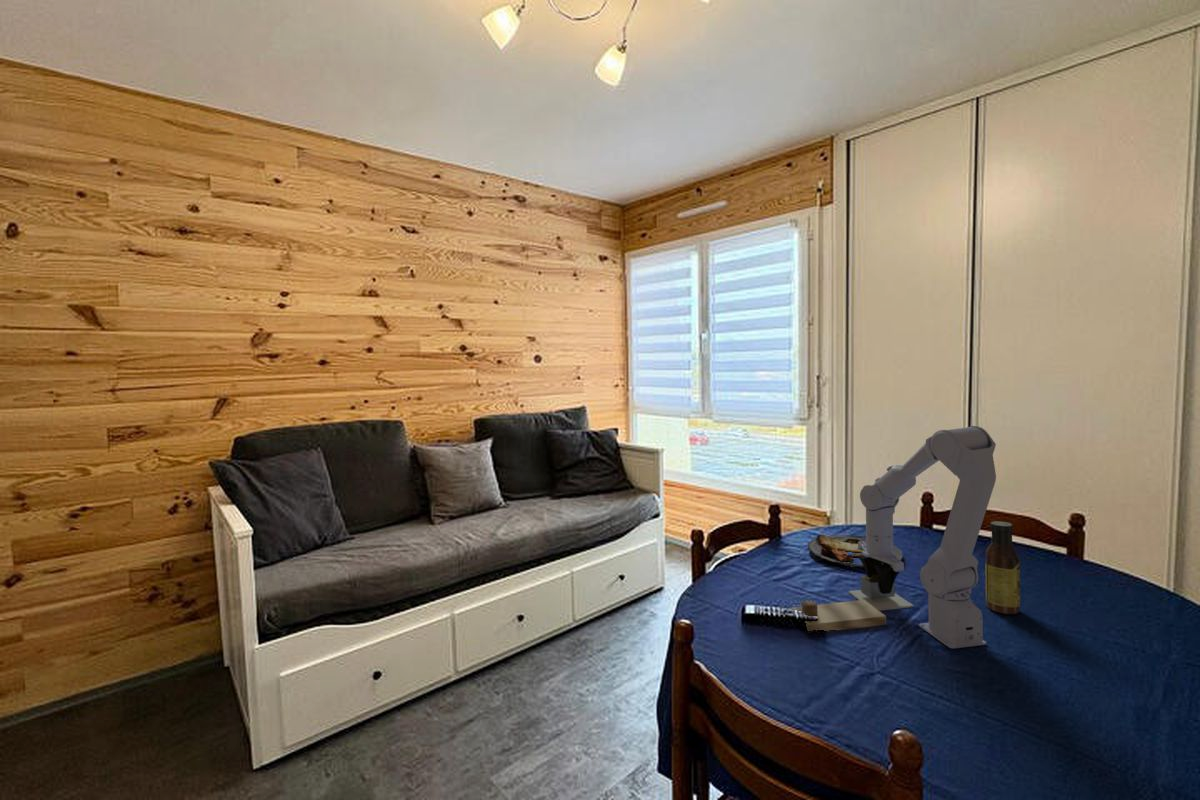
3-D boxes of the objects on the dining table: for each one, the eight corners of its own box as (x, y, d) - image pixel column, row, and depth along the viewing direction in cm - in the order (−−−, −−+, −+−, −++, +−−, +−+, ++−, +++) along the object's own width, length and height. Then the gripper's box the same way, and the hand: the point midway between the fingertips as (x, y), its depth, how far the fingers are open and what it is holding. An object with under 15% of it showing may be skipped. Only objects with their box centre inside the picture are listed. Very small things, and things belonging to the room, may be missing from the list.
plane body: (864, 607, 126) (863, 589, 125) (886, 624, 118) (885, 605, 117) (791, 615, 124) (790, 597, 123) (808, 633, 116) (807, 613, 115)
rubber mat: (913, 606, 125) (913, 605, 125) (873, 611, 124) (873, 609, 124) (885, 588, 135) (885, 587, 135) (848, 592, 134) (848, 591, 134)
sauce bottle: (1025, 616, 118) (1027, 528, 116) (994, 615, 119) (995, 528, 118) (1009, 602, 125) (1010, 519, 123) (979, 601, 126) (980, 519, 124)
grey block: (883, 589, 131) (883, 571, 131) (894, 596, 127) (894, 577, 127) (861, 592, 131) (860, 573, 130) (871, 599, 127) (870, 580, 126)
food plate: (803, 563, 153) (803, 551, 152) (812, 537, 173) (812, 527, 173) (903, 578, 141) (904, 566, 141) (900, 549, 162) (901, 538, 161)
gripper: (846, 525, 135) (847, 578, 136) (883, 545, 120) (883, 604, 121) (872, 523, 135) (873, 575, 137) (912, 543, 121) (912, 601, 122)
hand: (879, 588), depth 129 cm, fingers closed on grey block, 4 cm apart
